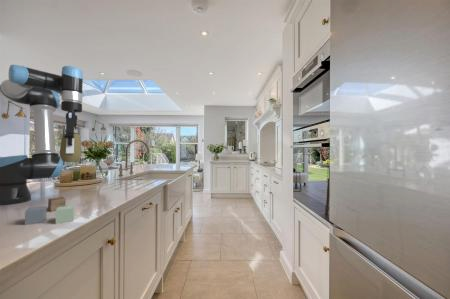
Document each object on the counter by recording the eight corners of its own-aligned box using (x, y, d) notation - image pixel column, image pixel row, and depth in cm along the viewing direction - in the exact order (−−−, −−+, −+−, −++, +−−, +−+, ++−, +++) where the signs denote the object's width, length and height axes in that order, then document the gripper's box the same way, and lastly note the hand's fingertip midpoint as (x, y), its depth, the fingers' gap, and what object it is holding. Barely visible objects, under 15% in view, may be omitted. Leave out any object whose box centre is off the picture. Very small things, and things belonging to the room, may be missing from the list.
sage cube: (57, 220, 79) (58, 207, 79) (74, 218, 81) (74, 205, 81) (55, 224, 74) (55, 210, 74) (72, 221, 77) (73, 208, 77)
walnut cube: (48, 209, 92) (48, 198, 92) (62, 207, 96) (62, 196, 96) (51, 212, 89) (51, 200, 89) (65, 209, 92) (65, 198, 93)
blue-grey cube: (28, 221, 77) (28, 207, 77) (46, 218, 80) (46, 205, 80) (24, 225, 73) (25, 211, 73) (43, 222, 76) (43, 209, 76)
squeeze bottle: (58, 162, 87) (59, 119, 87) (59, 161, 93) (60, 121, 93) (82, 161, 92) (82, 121, 92) (81, 161, 98) (82, 123, 98)
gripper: (64, 105, 99) (63, 152, 99) (57, 96, 82) (56, 153, 82) (83, 107, 103) (82, 152, 103) (80, 98, 86) (79, 153, 86)
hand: (71, 153), depth 92 cm, fingers closed on squeeze bottle, 8 cm apart
